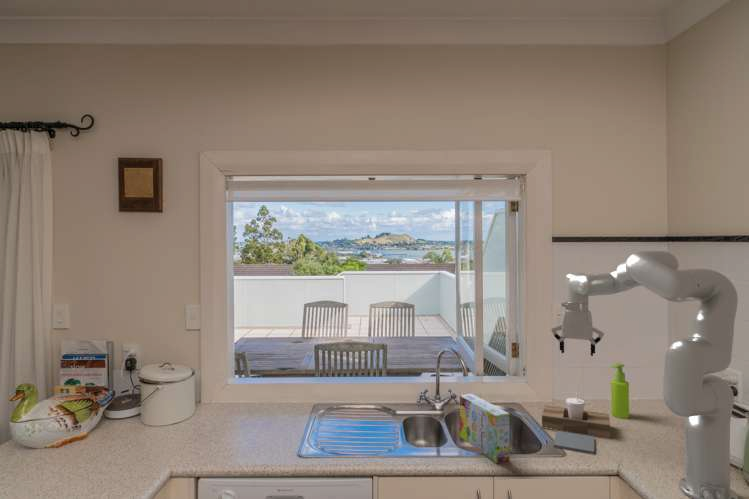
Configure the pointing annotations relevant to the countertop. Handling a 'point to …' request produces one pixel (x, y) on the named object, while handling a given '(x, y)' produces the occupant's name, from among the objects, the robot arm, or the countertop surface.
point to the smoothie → (575, 407)
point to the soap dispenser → (620, 393)
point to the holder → (576, 422)
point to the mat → (574, 442)
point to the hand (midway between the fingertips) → (577, 353)
